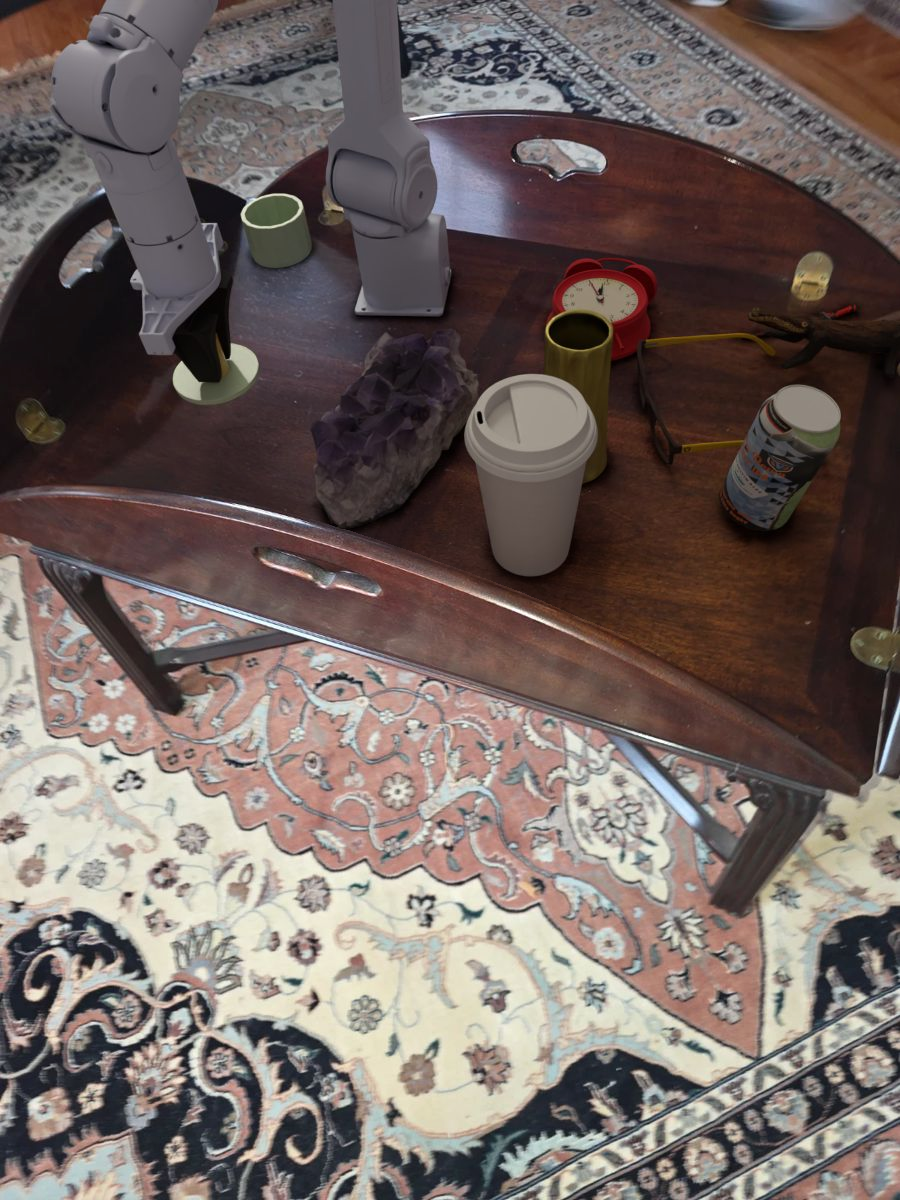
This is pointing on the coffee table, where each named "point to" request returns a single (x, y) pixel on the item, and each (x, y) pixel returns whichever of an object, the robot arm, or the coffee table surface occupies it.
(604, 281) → the alarm clock
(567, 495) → the coffee cup
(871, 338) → the toy
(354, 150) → the robot arm
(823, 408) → the beverage can
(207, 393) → the lid
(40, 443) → the coffee table surface
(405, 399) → the geode
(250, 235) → the tin
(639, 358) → the eyeglasses
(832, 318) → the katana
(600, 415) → the vase
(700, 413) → the coffee table surface
